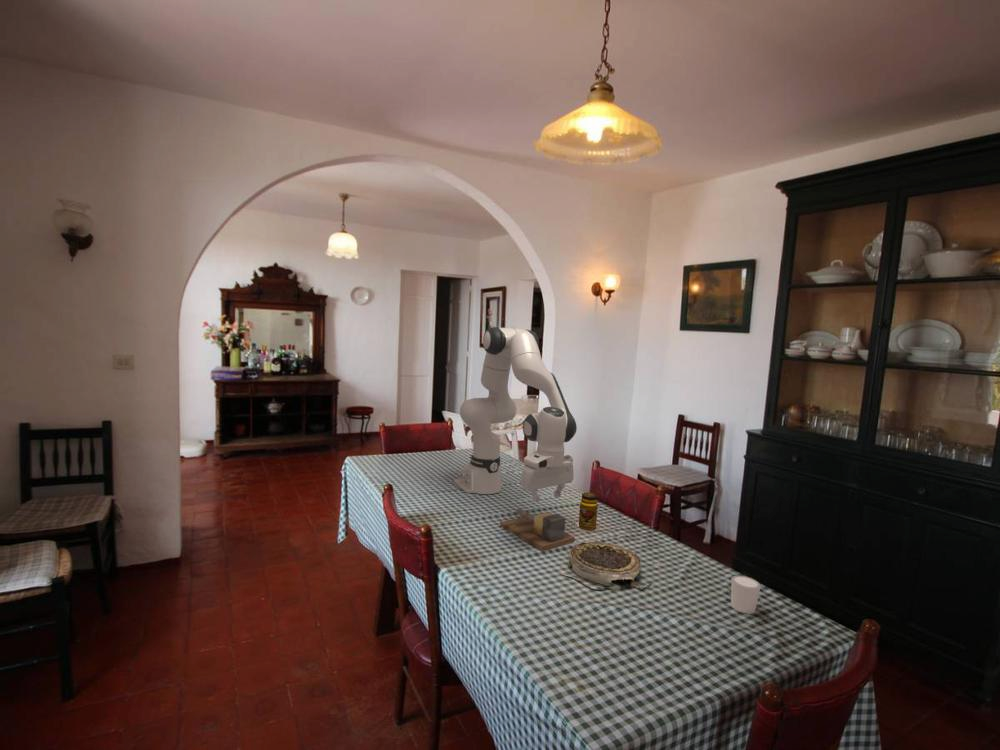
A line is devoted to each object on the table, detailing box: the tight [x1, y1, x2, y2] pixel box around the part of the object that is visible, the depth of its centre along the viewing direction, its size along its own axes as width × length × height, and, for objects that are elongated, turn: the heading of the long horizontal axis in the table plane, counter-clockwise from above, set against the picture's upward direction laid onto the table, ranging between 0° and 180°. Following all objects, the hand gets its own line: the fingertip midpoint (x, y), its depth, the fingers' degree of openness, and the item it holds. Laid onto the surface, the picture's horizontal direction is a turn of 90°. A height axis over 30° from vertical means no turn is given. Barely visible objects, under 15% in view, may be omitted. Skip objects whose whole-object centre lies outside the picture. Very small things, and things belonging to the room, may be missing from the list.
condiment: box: [572, 492, 601, 533], centre depth 177 cm, size 7×8×12 cm
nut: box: [534, 512, 552, 536], centre depth 166 cm, size 4×6×6 cm
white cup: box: [730, 575, 762, 615], centre depth 130 cm, size 7×7×7 cm
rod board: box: [499, 508, 576, 552], centre depth 169 cm, size 22×14×8 cm, turn 37°
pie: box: [559, 541, 653, 591], centre depth 147 cm, size 28×27×5 cm
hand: (546, 499), depth 165 cm, fingers open, 8 cm apart
